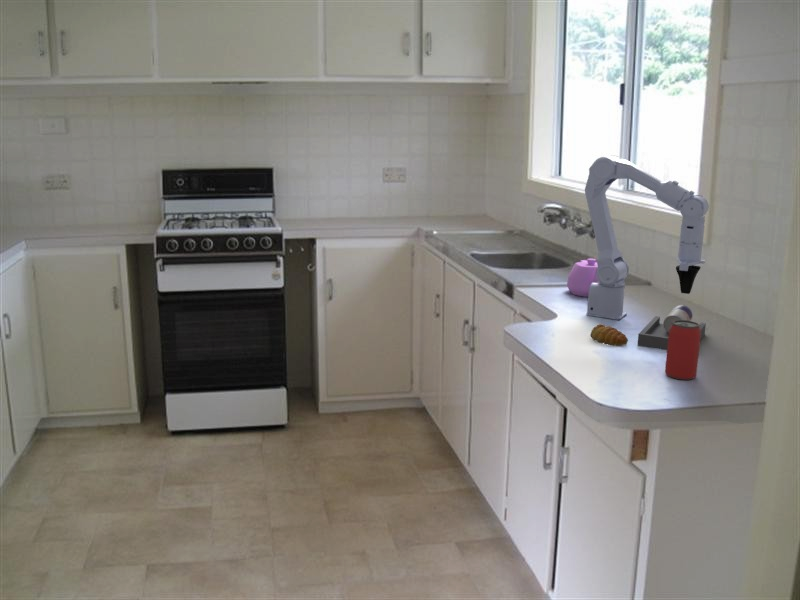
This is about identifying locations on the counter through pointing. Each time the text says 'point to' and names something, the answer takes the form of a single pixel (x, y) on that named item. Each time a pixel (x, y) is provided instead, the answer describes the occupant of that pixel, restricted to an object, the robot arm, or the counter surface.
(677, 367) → the beer can
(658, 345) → the tray
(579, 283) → the teapot
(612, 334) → the pastry
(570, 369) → the counter surface
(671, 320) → the energy drink
